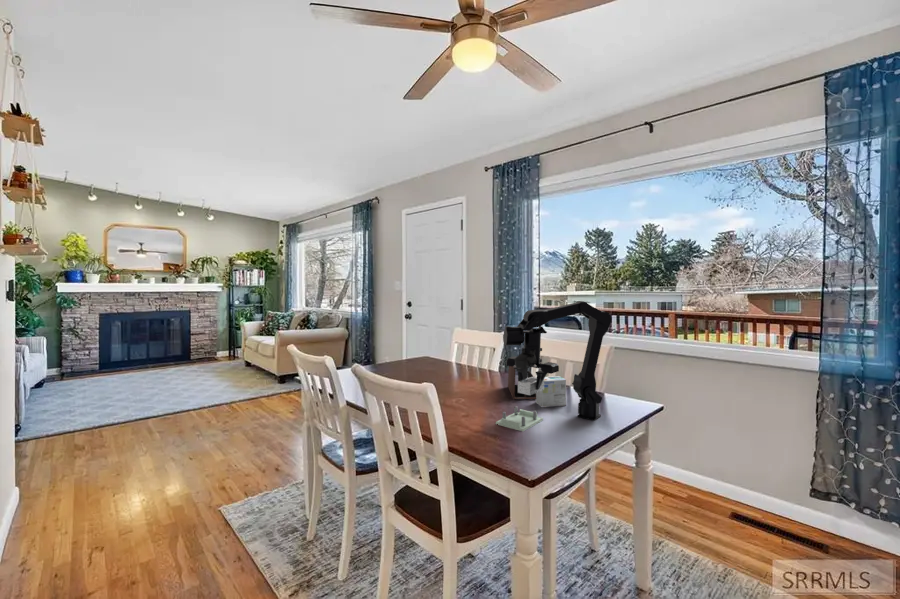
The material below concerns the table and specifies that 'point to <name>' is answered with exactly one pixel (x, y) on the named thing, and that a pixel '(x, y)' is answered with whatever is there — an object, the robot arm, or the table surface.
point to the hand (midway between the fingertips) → (531, 388)
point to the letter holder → (514, 388)
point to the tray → (520, 419)
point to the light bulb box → (552, 392)
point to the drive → (529, 386)
